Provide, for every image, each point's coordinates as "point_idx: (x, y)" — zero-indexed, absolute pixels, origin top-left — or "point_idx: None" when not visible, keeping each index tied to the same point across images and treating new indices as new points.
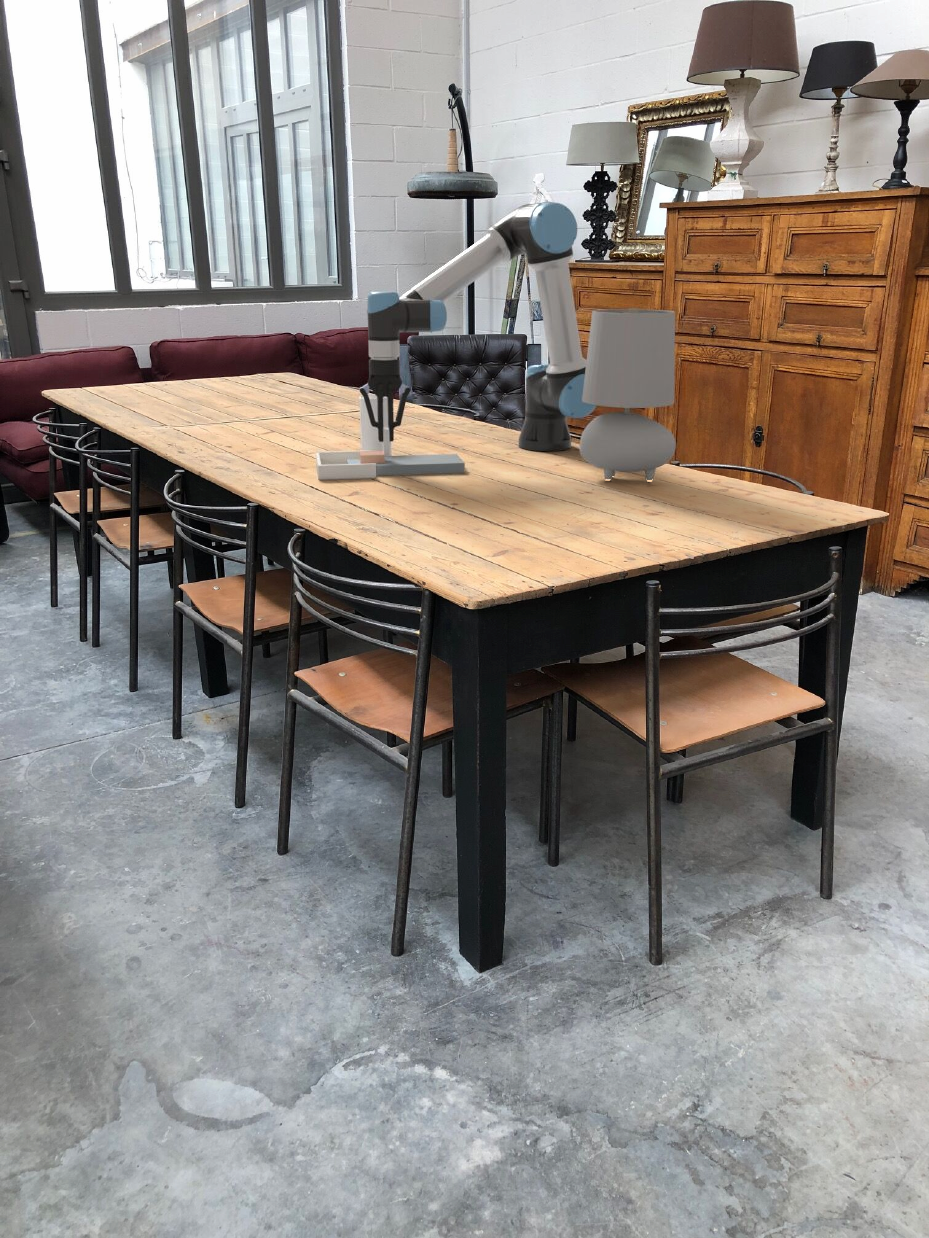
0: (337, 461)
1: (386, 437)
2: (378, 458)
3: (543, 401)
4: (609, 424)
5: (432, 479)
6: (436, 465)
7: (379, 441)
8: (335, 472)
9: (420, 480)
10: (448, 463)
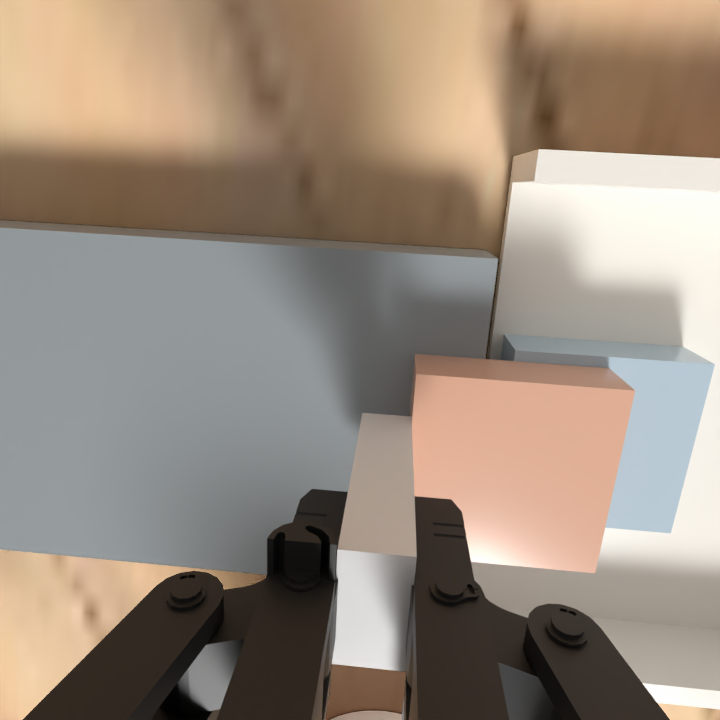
0: (677, 635)
1: (381, 495)
2: (467, 368)
3: None
4: None
5: (100, 26)
6: (24, 227)
7: (452, 501)
8: None
9: (193, 5)
10: None
